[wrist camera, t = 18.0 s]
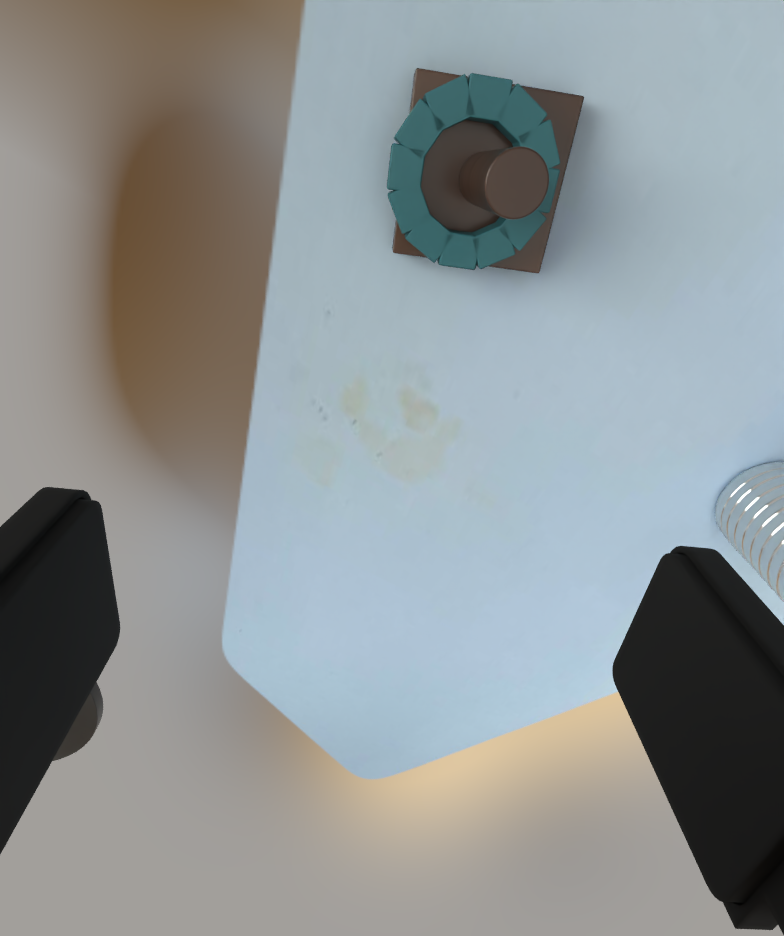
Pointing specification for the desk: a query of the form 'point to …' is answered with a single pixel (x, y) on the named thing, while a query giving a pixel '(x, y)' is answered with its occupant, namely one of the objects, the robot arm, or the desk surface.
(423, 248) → the teal segmented ring
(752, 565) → the water bottle
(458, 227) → the stand
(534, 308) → the desk surface
